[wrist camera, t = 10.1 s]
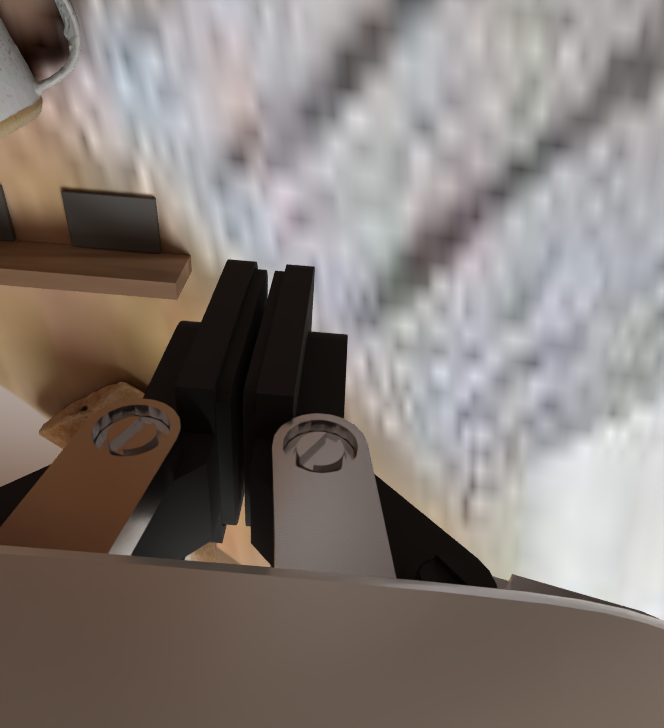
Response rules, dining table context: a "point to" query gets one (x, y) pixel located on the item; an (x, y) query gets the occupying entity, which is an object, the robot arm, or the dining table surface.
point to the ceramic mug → (30, 75)
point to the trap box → (97, 250)
